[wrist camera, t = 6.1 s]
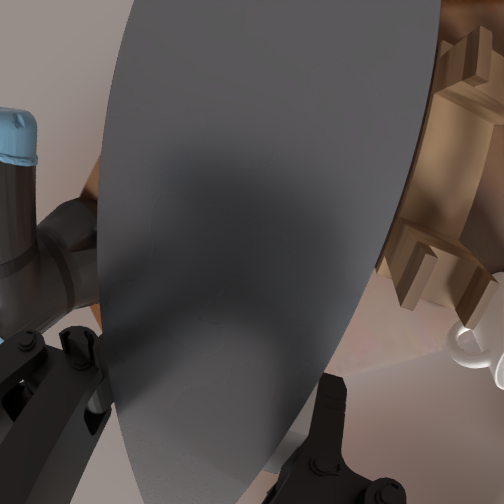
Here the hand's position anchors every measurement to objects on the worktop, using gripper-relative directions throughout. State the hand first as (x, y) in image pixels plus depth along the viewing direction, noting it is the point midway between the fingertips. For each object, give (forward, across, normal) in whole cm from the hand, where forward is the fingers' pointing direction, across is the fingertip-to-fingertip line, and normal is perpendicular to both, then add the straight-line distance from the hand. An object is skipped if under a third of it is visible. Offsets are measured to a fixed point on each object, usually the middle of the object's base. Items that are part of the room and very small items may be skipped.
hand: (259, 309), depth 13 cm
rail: (-3, 0, 0) cm, 3 cm away
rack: (+17, +12, +9) cm, 23 cm away
